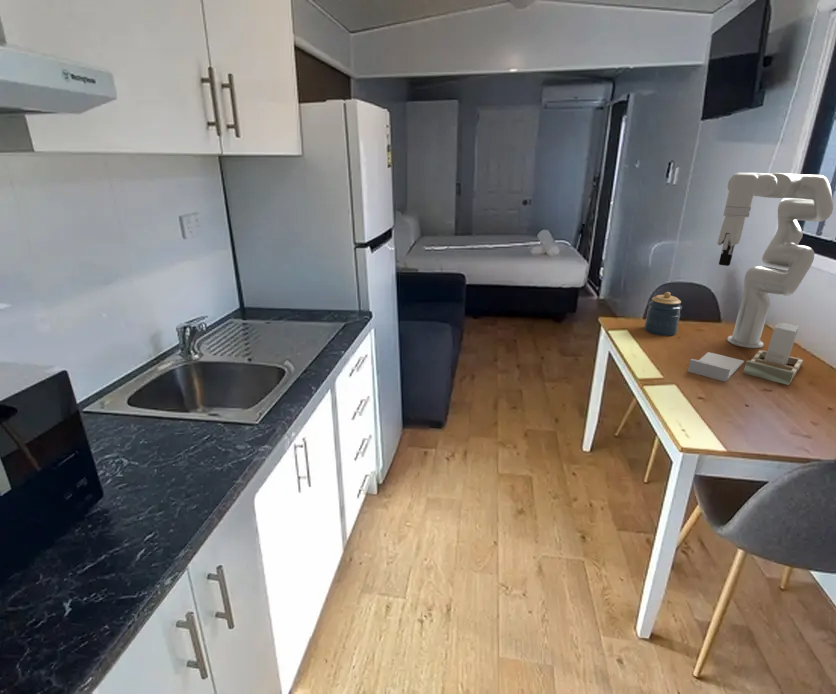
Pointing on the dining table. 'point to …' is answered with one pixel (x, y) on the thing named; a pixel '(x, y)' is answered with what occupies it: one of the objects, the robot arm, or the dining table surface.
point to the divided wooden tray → (772, 368)
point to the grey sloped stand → (715, 366)
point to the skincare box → (781, 343)
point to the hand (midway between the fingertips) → (724, 264)
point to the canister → (663, 315)
